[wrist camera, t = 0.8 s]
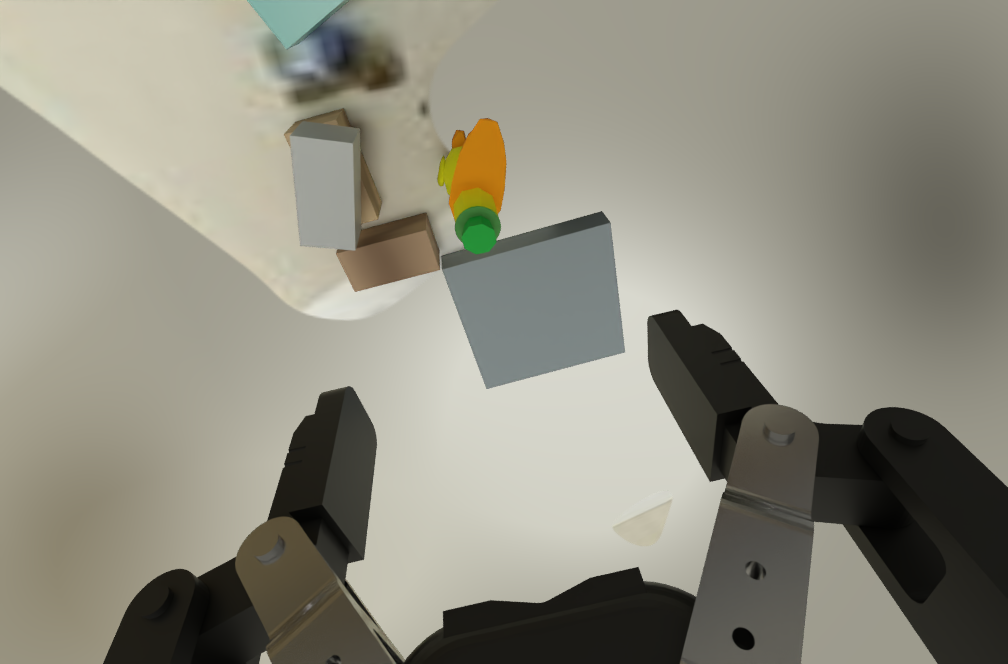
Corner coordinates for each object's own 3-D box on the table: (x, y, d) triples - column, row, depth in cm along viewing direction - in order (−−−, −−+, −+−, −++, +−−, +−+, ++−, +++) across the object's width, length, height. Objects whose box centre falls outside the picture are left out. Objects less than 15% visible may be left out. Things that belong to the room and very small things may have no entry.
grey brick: (302, 121, 26) (289, 135, 24) (360, 128, 27) (353, 143, 24) (310, 224, 29) (300, 245, 27) (361, 228, 30) (355, 250, 28)
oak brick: (296, 121, 29) (283, 134, 26) (343, 107, 29) (335, 119, 26) (339, 213, 32) (332, 231, 30) (381, 201, 32) (378, 219, 30)
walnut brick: (426, 211, 33) (425, 230, 31) (439, 249, 35) (439, 269, 32) (342, 233, 33) (336, 253, 31) (360, 270, 35) (354, 291, 33)
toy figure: (445, 81, 28) (453, 134, 19) (504, 92, 29) (541, 149, 19) (433, 192, 32) (434, 283, 22) (485, 199, 33) (508, 291, 23)
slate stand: (602, 211, 34) (610, 222, 33) (617, 337, 42) (625, 352, 40) (441, 256, 35) (442, 269, 33) (484, 373, 42) (486, 388, 41)
